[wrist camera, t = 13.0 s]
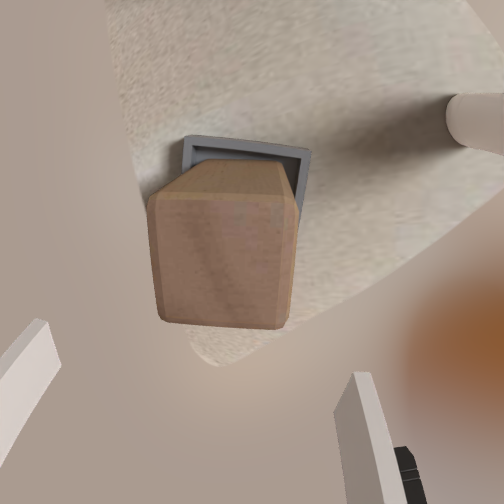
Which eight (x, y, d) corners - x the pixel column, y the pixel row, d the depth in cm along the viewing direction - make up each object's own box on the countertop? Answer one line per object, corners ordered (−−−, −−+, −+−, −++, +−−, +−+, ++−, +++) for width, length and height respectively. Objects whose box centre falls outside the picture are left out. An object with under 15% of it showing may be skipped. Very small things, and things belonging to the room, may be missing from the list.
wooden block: (202, 233, 41) (155, 326, 23) (201, 157, 37) (139, 195, 18) (279, 237, 41) (288, 335, 22) (284, 160, 37) (302, 200, 18)
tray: (191, 134, 37) (184, 136, 33) (307, 148, 37) (311, 151, 34) (184, 241, 42) (177, 251, 39) (289, 255, 43) (290, 266, 39)
